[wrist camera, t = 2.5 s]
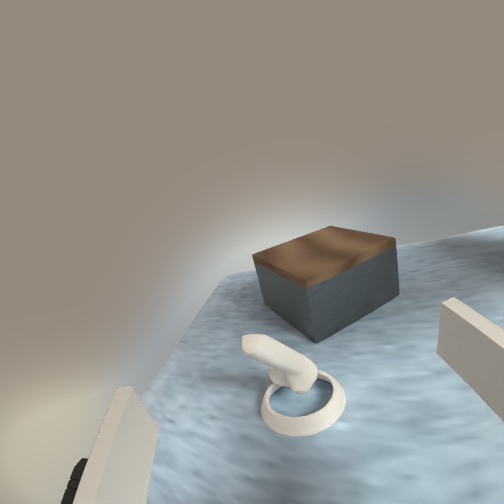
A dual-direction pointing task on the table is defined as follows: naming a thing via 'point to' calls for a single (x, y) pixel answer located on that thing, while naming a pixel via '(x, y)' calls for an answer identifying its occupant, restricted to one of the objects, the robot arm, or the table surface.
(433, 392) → the table surface
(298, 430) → the white ring with handle
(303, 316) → the block
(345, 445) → the table surface
